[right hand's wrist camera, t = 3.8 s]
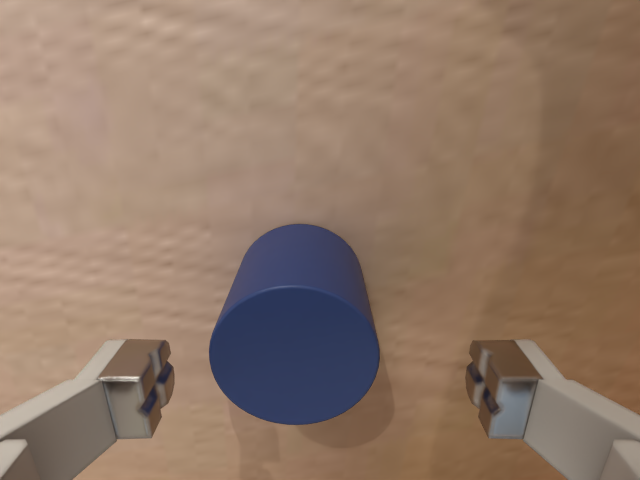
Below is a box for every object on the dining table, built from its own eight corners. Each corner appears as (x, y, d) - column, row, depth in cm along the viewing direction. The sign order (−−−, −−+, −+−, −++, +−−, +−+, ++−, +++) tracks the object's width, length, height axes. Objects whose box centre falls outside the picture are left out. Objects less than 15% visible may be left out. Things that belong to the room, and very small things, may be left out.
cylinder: (244, 332, 15) (217, 427, 11) (234, 223, 14) (198, 286, 10) (360, 331, 15) (376, 425, 11) (363, 222, 14) (384, 284, 10)
